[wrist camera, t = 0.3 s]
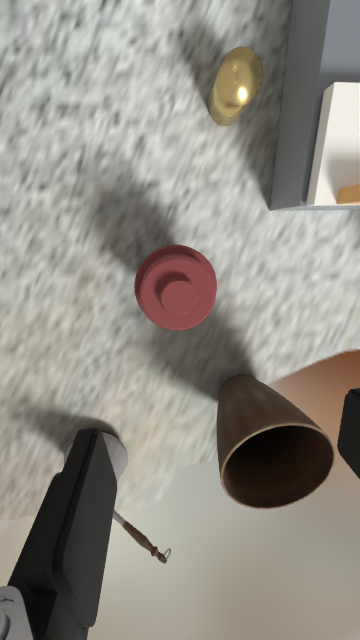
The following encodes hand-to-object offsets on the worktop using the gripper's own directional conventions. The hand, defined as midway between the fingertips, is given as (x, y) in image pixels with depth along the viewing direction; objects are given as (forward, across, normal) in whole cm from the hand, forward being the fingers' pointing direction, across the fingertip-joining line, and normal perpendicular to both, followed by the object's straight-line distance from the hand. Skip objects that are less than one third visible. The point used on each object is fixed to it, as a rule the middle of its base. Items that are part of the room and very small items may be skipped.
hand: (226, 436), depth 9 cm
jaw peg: (+30, -9, -21) cm, 37 cm away
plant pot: (+30, -9, +22) cm, 39 cm away
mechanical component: (+30, 0, -1) cm, 30 cm away
